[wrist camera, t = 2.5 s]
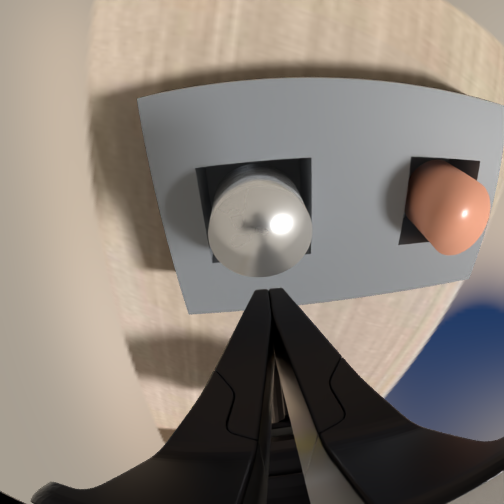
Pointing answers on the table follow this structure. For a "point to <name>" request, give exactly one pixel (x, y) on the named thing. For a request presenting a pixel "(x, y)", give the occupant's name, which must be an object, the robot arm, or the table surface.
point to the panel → (316, 178)
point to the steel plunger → (258, 222)
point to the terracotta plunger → (447, 206)
